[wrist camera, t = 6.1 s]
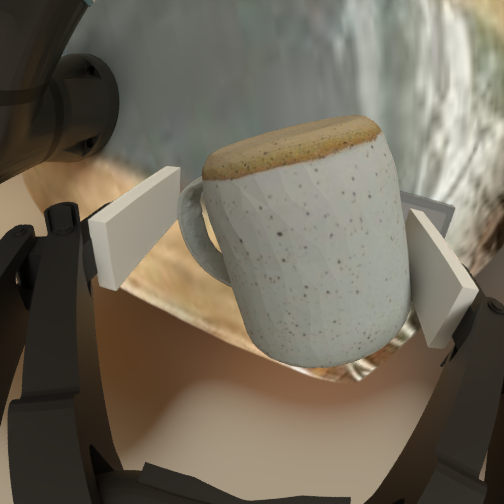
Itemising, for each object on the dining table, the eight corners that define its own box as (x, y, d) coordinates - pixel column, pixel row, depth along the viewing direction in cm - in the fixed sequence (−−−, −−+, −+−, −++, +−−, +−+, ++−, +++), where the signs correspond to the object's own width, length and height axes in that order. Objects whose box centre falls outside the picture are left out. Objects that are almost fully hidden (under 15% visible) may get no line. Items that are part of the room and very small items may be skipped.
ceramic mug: (364, 103, 12) (415, 116, 6) (392, 253, 16) (427, 358, 9) (166, 161, 16) (73, 218, 9) (218, 285, 19) (173, 381, 13)
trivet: (323, 280, 40) (323, 284, 39) (349, 179, 33) (350, 181, 32) (416, 296, 39) (417, 300, 38) (452, 205, 31) (455, 208, 31)
